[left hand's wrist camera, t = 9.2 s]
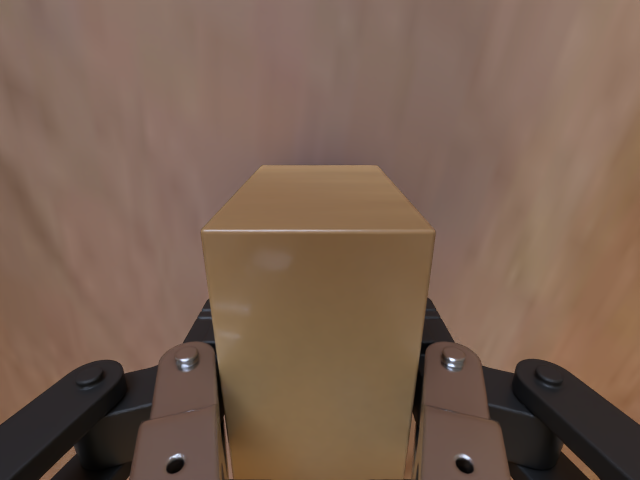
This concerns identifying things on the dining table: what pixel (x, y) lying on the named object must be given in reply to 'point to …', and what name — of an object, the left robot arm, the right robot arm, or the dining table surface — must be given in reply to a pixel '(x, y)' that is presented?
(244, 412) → the bar
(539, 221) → the dining table surface
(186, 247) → the dining table surface
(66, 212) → the dining table surface
